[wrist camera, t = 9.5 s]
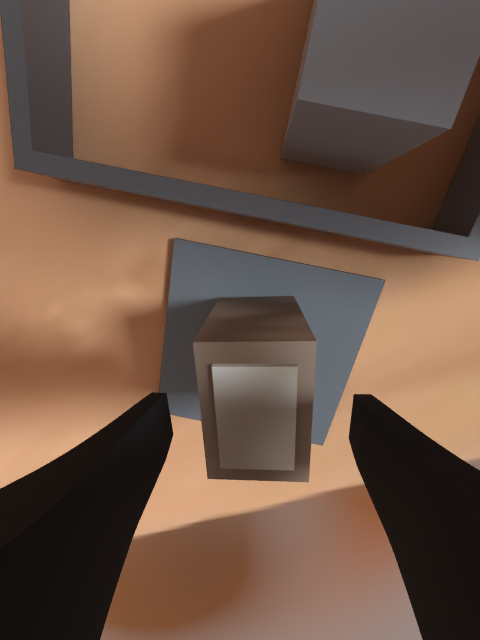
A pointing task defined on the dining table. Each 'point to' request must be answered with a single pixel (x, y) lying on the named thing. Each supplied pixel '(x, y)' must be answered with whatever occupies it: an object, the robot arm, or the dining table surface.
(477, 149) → the dark grey rectangular frame
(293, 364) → the labelled box
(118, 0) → the dining table surface
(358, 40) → the plain box
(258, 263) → the grey mat
